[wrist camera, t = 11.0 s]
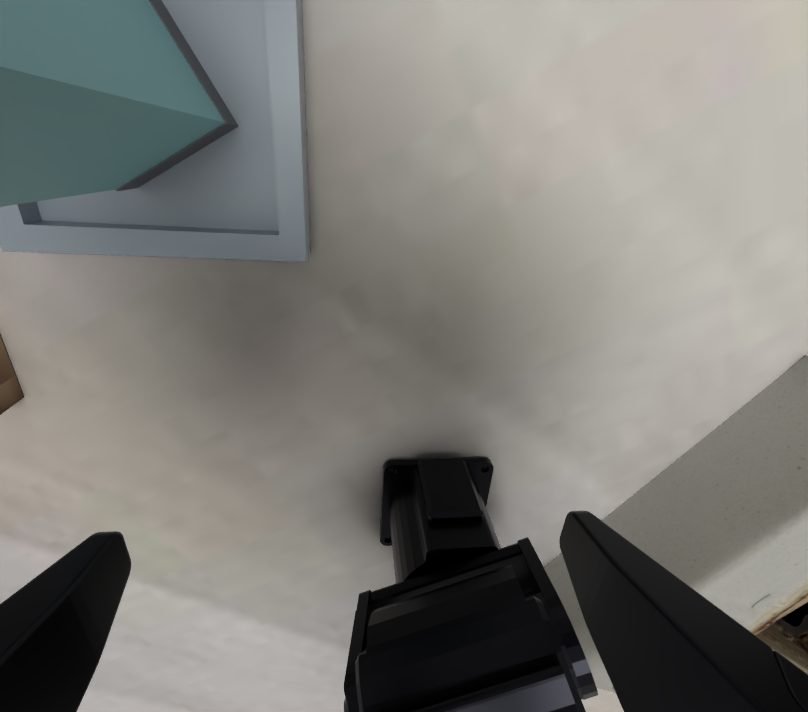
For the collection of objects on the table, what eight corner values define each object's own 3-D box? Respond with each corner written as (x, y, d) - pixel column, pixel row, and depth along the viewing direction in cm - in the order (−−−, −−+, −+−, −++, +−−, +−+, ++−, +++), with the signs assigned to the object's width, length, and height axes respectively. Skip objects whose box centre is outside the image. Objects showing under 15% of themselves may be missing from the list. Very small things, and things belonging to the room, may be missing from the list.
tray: (310, 251, 19) (306, 261, 17) (38, 241, 17) (2, 251, 15) (299, -81, 14) (291, -116, 12) (-77, -133, 12) (-149, -181, 11)
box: (518, 574, 31) (734, 683, 42) (566, 692, 24) (811, 786, 35) (784, 341, 25) (957, 540, 36) (952, 410, 18) (1103, 631, 29)
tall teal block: (238, 126, 15) (-22, 60, 5) (137, 188, 16) (-308, 258, 5) (149, -20, 13) (-671, -724, 3) (36, 56, 14) (-1032, -273, 3)
